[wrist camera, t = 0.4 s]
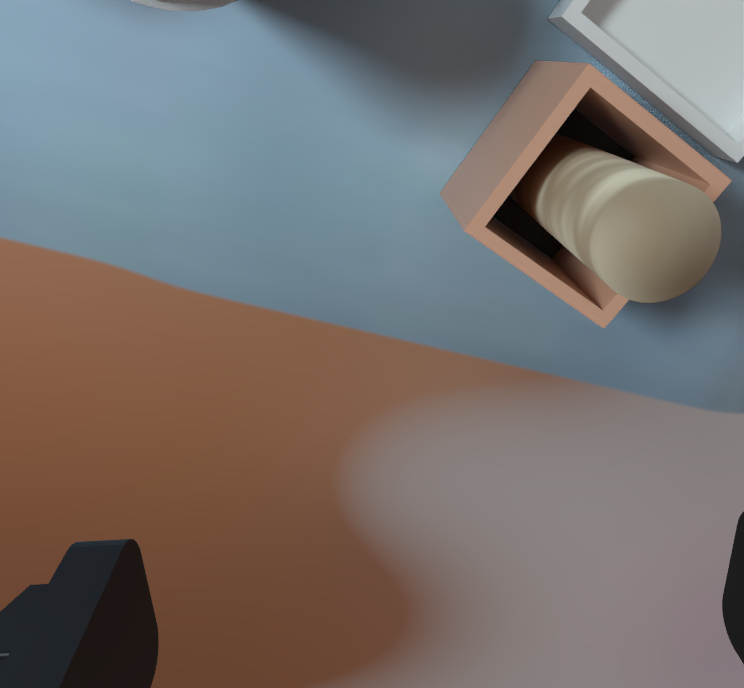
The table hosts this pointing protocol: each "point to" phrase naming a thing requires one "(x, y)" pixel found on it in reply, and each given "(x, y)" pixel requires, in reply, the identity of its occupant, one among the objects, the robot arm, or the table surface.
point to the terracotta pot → (525, 143)
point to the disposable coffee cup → (184, 4)
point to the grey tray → (672, 59)
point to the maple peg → (622, 219)
